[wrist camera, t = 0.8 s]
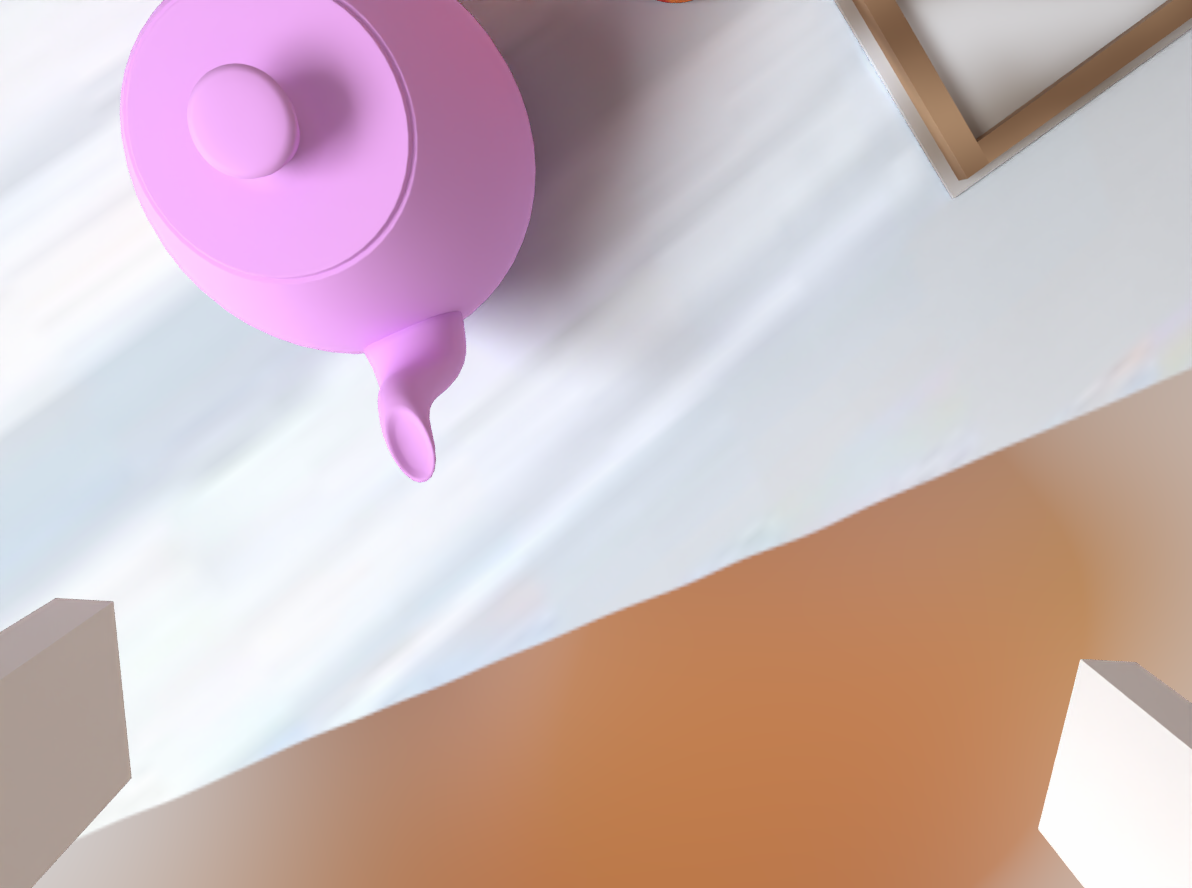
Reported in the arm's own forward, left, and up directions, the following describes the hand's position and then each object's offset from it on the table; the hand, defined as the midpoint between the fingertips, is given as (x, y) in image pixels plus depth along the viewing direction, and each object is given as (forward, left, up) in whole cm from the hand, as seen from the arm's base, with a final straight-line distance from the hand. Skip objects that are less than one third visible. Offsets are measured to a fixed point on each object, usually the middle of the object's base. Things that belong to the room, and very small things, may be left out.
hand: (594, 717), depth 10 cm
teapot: (-13, -2, -24) cm, 27 cm away
